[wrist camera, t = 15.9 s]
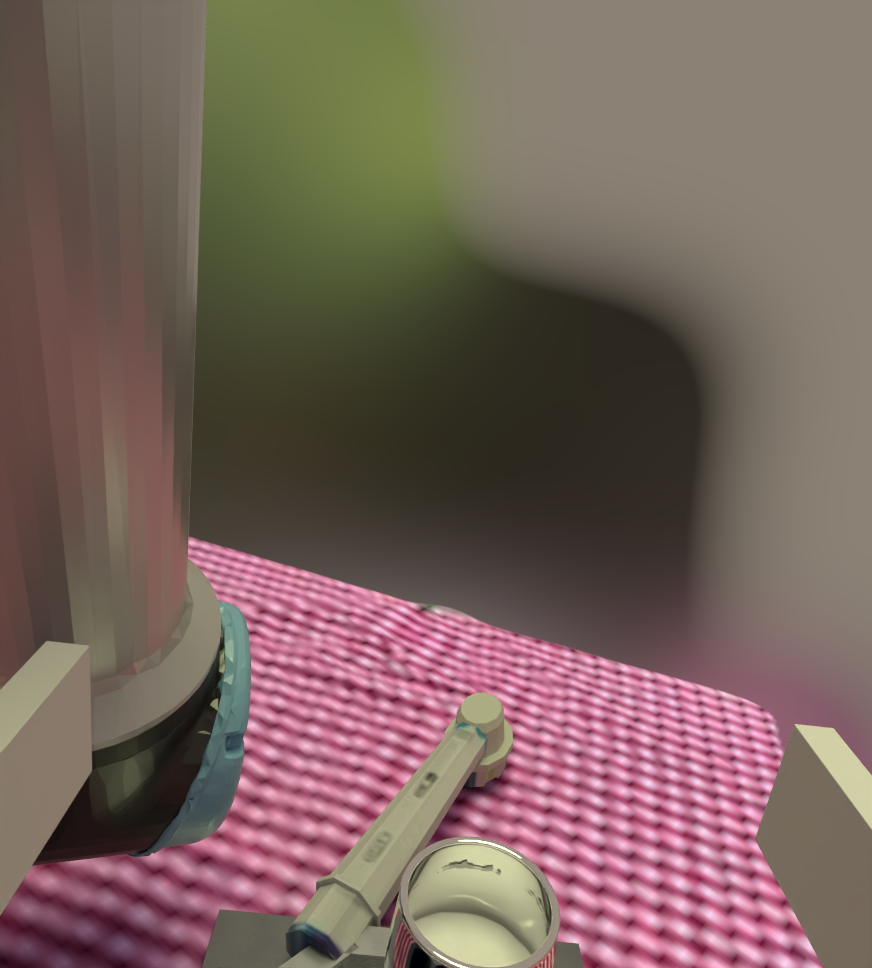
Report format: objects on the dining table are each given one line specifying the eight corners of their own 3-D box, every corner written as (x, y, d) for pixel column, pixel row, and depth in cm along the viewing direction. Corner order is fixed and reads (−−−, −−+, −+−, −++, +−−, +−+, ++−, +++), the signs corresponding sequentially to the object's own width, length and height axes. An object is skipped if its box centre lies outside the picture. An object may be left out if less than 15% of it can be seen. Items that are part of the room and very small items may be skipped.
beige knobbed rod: (272, 909, 41) (469, 663, 62) (278, 984, 44) (464, 726, 64) (351, 956, 39) (528, 686, 59) (351, 1032, 42) (521, 749, 62)
